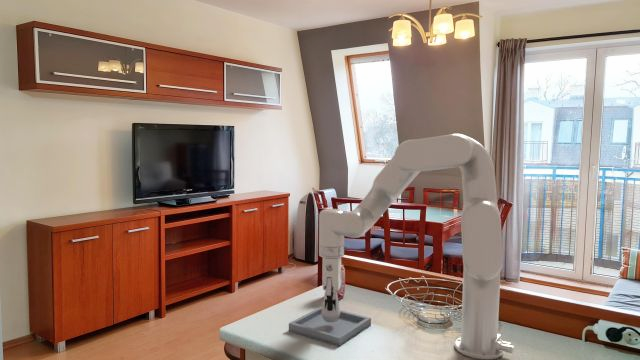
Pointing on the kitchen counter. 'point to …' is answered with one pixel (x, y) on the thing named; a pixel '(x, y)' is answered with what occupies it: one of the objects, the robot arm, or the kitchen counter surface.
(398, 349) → the kitchen counter surface
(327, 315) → the salt shaker
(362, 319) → the tray
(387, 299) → the kitchen counter surface
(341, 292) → the soda can
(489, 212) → the robot arm
